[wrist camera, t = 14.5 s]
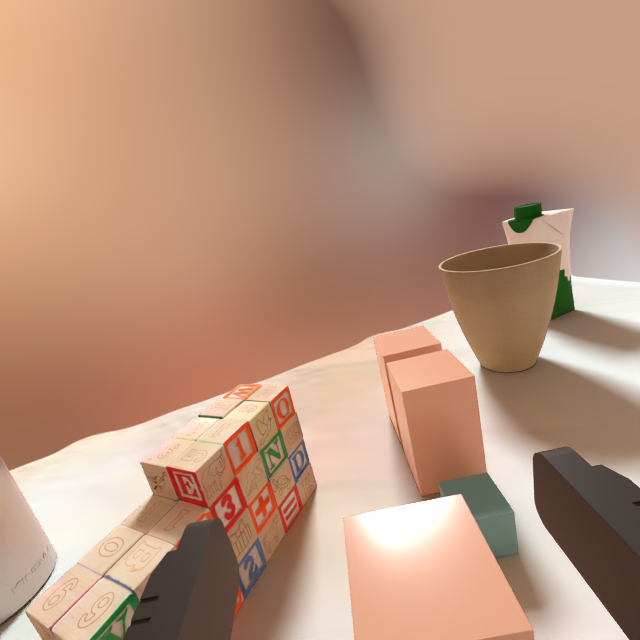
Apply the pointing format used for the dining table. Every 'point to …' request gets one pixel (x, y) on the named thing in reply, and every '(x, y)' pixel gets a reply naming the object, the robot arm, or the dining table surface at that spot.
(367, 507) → the dining table surface
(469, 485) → the green cube
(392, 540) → the salmon pink rectangular block
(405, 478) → the dining table surface
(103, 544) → the stack of blocks
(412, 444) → the salmon rectangular block
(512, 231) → the milk carton
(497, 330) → the plant pot
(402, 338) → the peach rectangular block
